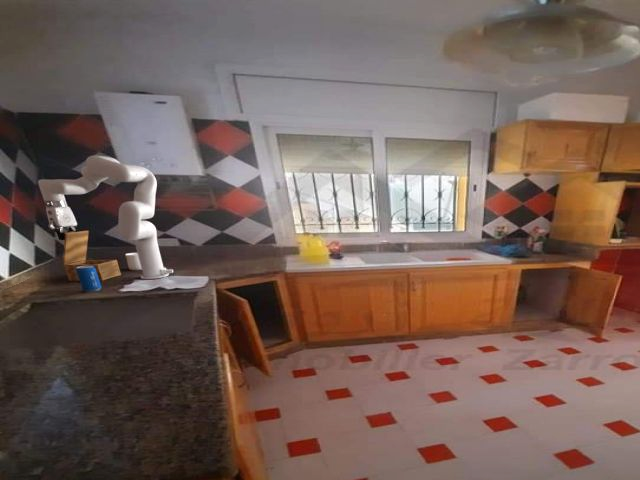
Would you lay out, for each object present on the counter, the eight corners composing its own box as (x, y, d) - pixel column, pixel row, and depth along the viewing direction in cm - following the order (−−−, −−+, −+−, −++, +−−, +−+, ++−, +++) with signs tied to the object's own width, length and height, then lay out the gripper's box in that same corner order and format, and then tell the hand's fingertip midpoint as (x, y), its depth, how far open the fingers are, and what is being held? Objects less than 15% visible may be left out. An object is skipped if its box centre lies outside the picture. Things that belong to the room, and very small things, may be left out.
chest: (121, 274, 185) (116, 260, 182) (102, 280, 173) (97, 264, 171) (90, 275, 184) (85, 260, 181) (69, 280, 172) (63, 265, 169)
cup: (126, 269, 198) (121, 254, 195) (145, 266, 206) (141, 251, 203) (133, 271, 193) (129, 255, 190) (152, 268, 202) (148, 252, 199)
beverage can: (90, 292, 152) (81, 268, 149) (79, 291, 154) (71, 267, 150) (105, 288, 158) (97, 265, 155) (95, 288, 160) (87, 264, 156)
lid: (88, 231, 176) (78, 227, 175) (66, 234, 164) (55, 230, 163) (85, 259, 181) (75, 256, 180) (64, 264, 169) (53, 261, 168)
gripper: (47, 205, 158) (60, 241, 163) (79, 204, 174) (90, 237, 179) (30, 205, 157) (44, 241, 162) (64, 203, 173) (75, 237, 179)
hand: (68, 238), depth 171 cm, fingers closed on lid, 5 cm apart
